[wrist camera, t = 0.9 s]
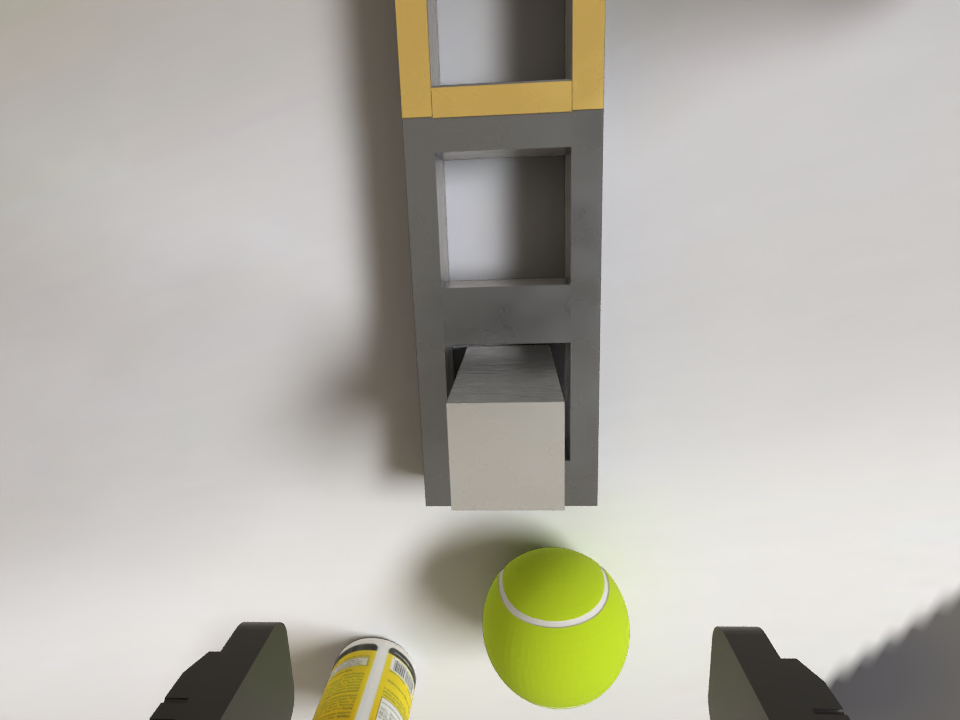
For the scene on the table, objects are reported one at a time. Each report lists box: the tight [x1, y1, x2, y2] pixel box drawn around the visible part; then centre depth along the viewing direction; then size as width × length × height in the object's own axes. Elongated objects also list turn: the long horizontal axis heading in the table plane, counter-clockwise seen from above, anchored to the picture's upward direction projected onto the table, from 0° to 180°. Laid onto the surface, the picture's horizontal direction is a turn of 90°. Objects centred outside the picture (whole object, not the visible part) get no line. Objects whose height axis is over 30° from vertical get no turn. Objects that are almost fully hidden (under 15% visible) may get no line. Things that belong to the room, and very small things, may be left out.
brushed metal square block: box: [446, 345, 565, 510], centre depth 24 cm, size 4×4×9 cm
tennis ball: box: [483, 547, 630, 709], centre depth 28 cm, size 7×7×7 cm
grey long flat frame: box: [395, 0, 605, 506], centre depth 25 cm, size 8×26×3 cm, turn 2°
